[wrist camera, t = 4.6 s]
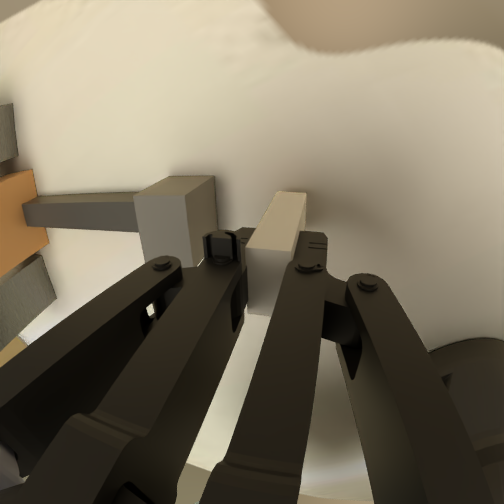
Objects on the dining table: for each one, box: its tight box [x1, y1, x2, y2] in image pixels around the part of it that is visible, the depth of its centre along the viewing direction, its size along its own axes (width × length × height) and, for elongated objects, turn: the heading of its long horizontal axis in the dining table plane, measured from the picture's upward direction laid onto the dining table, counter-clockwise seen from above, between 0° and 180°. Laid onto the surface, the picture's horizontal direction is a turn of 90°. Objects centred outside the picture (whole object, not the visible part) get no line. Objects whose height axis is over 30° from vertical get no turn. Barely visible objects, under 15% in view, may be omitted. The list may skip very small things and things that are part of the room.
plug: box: [0, 169, 218, 277], centre depth 18 cm, size 22×7×8 cm, turn 92°
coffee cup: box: [0, 336, 28, 367], centre depth 32 cm, size 9×9×12 cm
